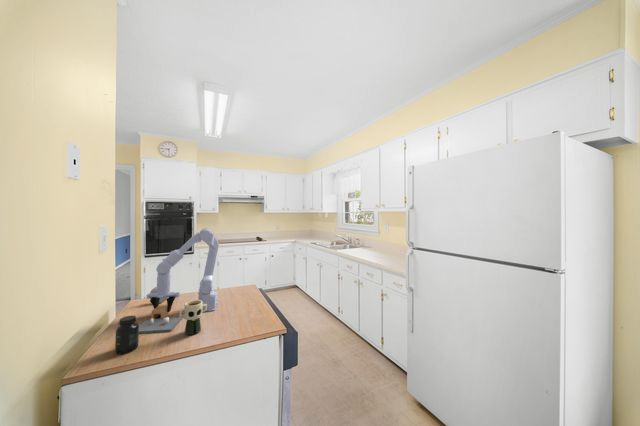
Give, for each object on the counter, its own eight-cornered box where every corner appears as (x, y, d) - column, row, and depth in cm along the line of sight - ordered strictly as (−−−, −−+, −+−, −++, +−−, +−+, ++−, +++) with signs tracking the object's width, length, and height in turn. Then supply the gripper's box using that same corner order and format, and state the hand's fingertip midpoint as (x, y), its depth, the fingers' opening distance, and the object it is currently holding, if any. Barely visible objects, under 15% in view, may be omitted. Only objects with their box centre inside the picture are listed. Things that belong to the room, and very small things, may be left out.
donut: (170, 300, 137) (170, 283, 137) (169, 302, 134) (170, 285, 134) (149, 303, 132) (149, 286, 132) (148, 305, 129) (148, 287, 129)
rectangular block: (163, 310, 123) (163, 301, 124) (173, 309, 124) (173, 301, 124) (151, 320, 112) (151, 311, 112) (162, 319, 113) (162, 310, 113)
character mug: (180, 339, 95) (181, 308, 95) (177, 333, 101) (177, 303, 101) (208, 331, 103) (209, 302, 103) (203, 325, 108) (204, 297, 108)
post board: (181, 319, 113) (182, 312, 113) (171, 331, 102) (171, 323, 102) (147, 321, 111) (148, 314, 111) (132, 334, 99) (132, 326, 99)
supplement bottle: (110, 352, 86) (111, 320, 86) (131, 342, 92) (132, 313, 92) (122, 356, 83) (123, 323, 84) (142, 346, 90) (143, 316, 90)
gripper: (143, 288, 113) (142, 315, 113) (175, 286, 116) (175, 313, 116) (150, 283, 120) (150, 309, 120) (181, 282, 123) (180, 308, 122)
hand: (162, 311), depth 118 cm, fingers closed on rectangular block, 5 cm apart
